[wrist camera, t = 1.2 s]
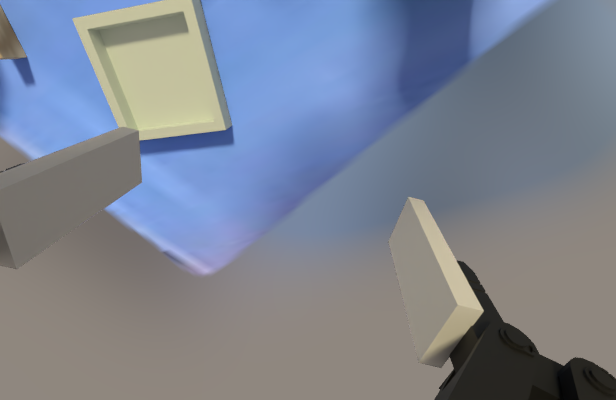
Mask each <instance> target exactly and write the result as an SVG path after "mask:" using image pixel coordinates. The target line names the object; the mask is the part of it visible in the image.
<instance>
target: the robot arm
mask: <svg viewBox="0 0 616 400" xmlns="http://www.w3.org/2000/svg"><path fill="white" fill-rule="evenodd" d="M141 182H142V176H141V159H140V142H139V130H135V129H131V128H127V127H120V128H118V129H115V130H112V131H110V132H107V133H104V134H102V135H99V136H96V137H94V138H91V139H88V140H86V141H83V142H80V143H78V144H75V145H72V146H70V147H67V148H64V149H62V150H59V151H57V152H54V153H51V154H49V155H46V156H43V157H41V158H38V159H35V160H33V161H30V162H28V163H23V164H19V165H17V166H14V167H11V168H8V169H6V170H5V171H1V172H0V266H5V267H9V268H13V269H18V268H19V267H21V266H22V265H24V264H25V263H26V262H28V261H29V260H31V259H32V258H34V257H35V256H37V255H38V254H39V253H41V252H42V251H44V250H45V249H46V248H48V247H50V246H51V245H52V244H54V243H55V242H57V241H58V240H59V239H61V238H62V237H64V236H65V235H67V234H68V233H70V232H71V231H73V230H74V229H75V228H77V227H78V226H80V225H81V224H83V223H84V222H85V221H87V220H88V219H90V218H91V217H93V216H94V215H96V214H97V213H98V212H100V211H101V210H103V209H104V208H106V207H107V206H108V205H110V204H111V203H113V202H114V201H116V200H117V199H118V198H120V197H121V196H123V195H124V194H126V193H127V192H129V191H130V190H131V189H133V188H134V187H136V186H137V185H139V184H140V183H141ZM388 243H389V247H390V251H391V255H392V259H393V262H394V267H395V271H396V275H397V279H398V283H399V287H400V291H401V295H402V299H403V303H404V307H405V311H406V314H407V319H408V323H409V326H410V331H411V335H412V339H413V343H414V347H415V351H416V355H417V359H418V363H422V364H426V365H431V366H435V367H439V368H441V367H442V366H443V365H444V364H445V362H446V361H447V360H448V358H449V357H450V358H451V361H452V364H453V367H454V370H453V371H452V372H451V374H450V375H449V376H448V377H447V378H446V380H445V381H444V382H443V383H442V385H441V386H440V387H439V389H440V391H439V393H438V395H437V396H436V398H435V400H616V379H615V378H614V377H613V376H612V375H611V374H609V373H608V372H607V371H606V370H604V369H603V368H601V367H599V366H598V365H596V364H594V363H593V362H590V361H588V360H585V359H583V358H576V357H575V358H573V359H571V360H570V361H569V362H568V363H567V364H566V365H565V366H563V365H561V364H559V363H557V362H555V361H552V360H550V359H548V358H546V357H544V356H542V355H540V354H539V352H538V350H537V349H536V347H535V345H534V343H533V342H531V340H530V339H529V338H528V337H527V336H526V335H525V334H524V333H522V332H521V331H520V330H519V329H517V328H515V327H514V326H512V325H510V324H508V323H504V322H503V320H502V318H501V317H500V315H499V313H498V312H497V310H496V308H495V307H494V305H493V303H492V301H491V300H490V298H489V296H488V295H487V294H486V293H485V290H484V288H483V286H482V285H480V281H479V280H478V278H477V276H476V275H475V273H474V272H473V271H472V270H471V269H470V268H469V267H468V266H467V265H466V264H465V263H464V262H461V261H457V260H456V259H455V257H454V255H453V253H452V252H451V250H450V248H449V246H448V244H447V242H446V241H445V239H444V237H443V235H442V233H441V231H440V230H439V228H438V226H437V224H436V222H435V220H434V219H433V217H432V215H431V213H430V211H429V210H428V208H427V206H426V204H425V202H424V200H420V199H416V198H412V197H408V198H407V201H406V203H405V205H404V207H403V209H402V212H401V214H400V216H399V218H398V221H397V223H396V225H395V228H394V230H393V232H392V234H391V236H390V239H389V241H388Z"/></svg>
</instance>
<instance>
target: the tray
mask: <svg viewBox="0 0 616 400" xmlns="http://www.w3.org/2000/svg"><path fill="white" fill-rule="evenodd" d="M73 22H74V24H75V26H76V29H77V31H78V33H79V36H80V38H81V40H82V43H83V45H84V47H85V50H86V52H87V54H88V57H89V59H90V61H91V64H92V66H93V68H94V71H95V73H96V75H97V78H98V80H99V82H100V85H101V87H102V89H103V92H104V94H105V96H106V99H107V101H108V103H109V106H110V108H111V110H112V113H113V115H114V117H115V120H116V122H117V124H118V127H119V128H120V127H127V128H131V129H135V130H139V141H140V140H148V139H156V138H164V137H173V136H181V135H189V134H197V133H205V132H213V131H221V130H227V129H228V128H229V127H231V126H232V123H231V119H230V115H229V111H228V107H227V103H226V99H225V95H224V91H223V87H222V83H221V79H220V76H219V72H218V68H217V64H216V60H215V56H214V52H213V48H212V44H211V40H210V36H209V32H208V28H207V24H206V20H205V16H204V13H203V9H202V5H201V1H200V0H164V1H159V2H154V3H149V4H144V5H139V6H134V7H129V8H124V9H118V10H113V11H108V12H103V13H98V14H93V15H88V16H83V17H78V18H73Z"/></svg>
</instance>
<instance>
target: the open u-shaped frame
mask: <svg viewBox="0 0 616 400" xmlns="http://www.w3.org/2000/svg"><path fill="white" fill-rule="evenodd" d="M25 57H27V56H26V54H25V52H24V50H23V48H22V46H21V45H20V43H19V41H18V39H17V37H16V35H15V33H14V31H13V29H12V27H11V25H10V23H9V21H8V19H7V17H6V15H5V13H4V11H3V9H2V8H1V6H0V59H19V58H25Z"/></svg>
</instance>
